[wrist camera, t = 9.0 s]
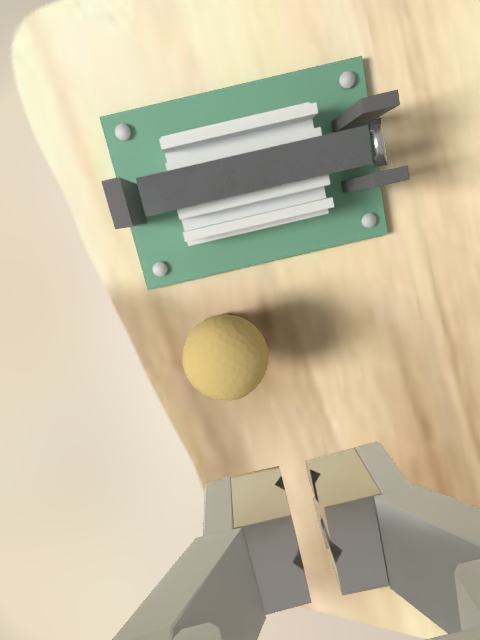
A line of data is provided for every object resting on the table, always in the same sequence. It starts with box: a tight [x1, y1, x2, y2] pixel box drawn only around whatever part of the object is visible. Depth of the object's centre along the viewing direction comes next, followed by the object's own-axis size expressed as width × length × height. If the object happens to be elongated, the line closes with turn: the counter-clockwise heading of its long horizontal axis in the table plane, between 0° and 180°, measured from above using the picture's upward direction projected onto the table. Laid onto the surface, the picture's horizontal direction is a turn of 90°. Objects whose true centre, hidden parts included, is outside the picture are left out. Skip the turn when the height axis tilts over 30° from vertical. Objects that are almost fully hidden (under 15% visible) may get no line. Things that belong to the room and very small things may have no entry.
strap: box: [136, 118, 388, 216], centre depth 30 cm, size 17×3×1 cm, turn 103°
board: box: [100, 56, 409, 290], centre depth 33 cm, size 21×14×8 cm, turn 103°
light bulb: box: [183, 314, 269, 401], centre depth 36 cm, size 6×6×10 cm
